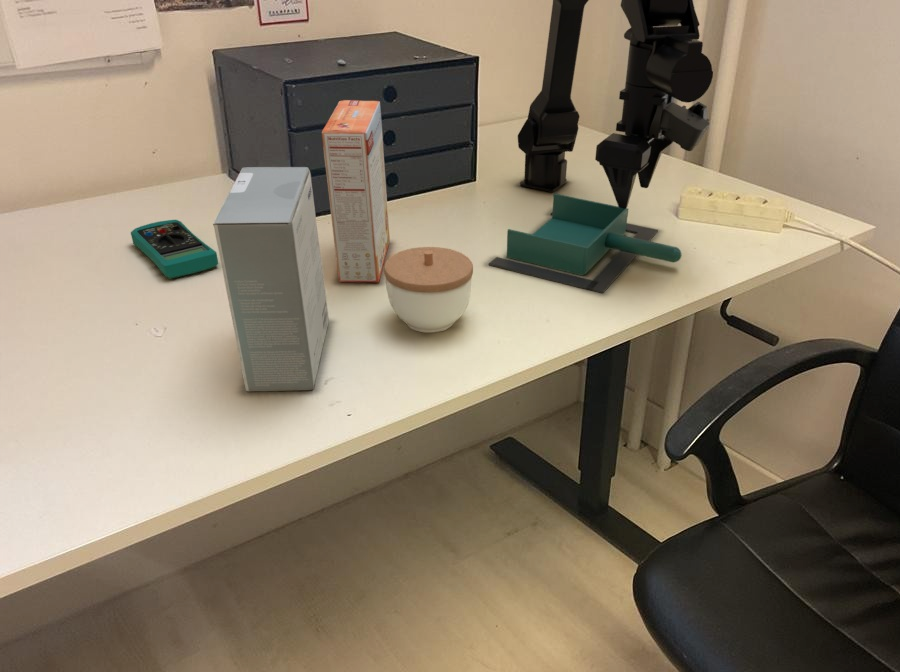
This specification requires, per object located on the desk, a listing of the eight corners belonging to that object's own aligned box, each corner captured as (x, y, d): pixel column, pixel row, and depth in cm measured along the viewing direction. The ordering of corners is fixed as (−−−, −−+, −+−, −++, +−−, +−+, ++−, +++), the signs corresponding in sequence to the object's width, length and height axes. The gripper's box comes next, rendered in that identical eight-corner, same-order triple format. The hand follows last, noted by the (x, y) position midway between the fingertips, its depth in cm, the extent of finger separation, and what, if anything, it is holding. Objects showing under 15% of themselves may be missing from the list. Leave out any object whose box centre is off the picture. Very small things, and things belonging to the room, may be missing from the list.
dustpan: (506, 257, 118) (507, 229, 116) (552, 218, 131) (554, 193, 128) (661, 294, 110) (665, 265, 107) (694, 249, 122) (699, 222, 120)
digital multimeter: (181, 233, 122) (177, 214, 120) (221, 268, 112) (217, 248, 111) (131, 245, 118) (127, 226, 116) (168, 282, 108) (163, 262, 107)
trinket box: (406, 350, 96) (402, 279, 90) (375, 310, 104) (370, 242, 98) (487, 331, 100) (488, 262, 95) (451, 294, 108) (451, 228, 103)
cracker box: (350, 241, 121) (338, 98, 110) (391, 242, 121) (382, 99, 110) (334, 283, 109) (319, 128, 98) (379, 284, 110) (368, 129, 98)
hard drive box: (267, 322, 100) (242, 165, 89) (329, 321, 101) (313, 165, 90) (243, 393, 87) (211, 220, 76) (315, 392, 88) (293, 220, 77)
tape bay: (488, 265, 116) (488, 263, 115) (556, 210, 134) (556, 208, 134) (602, 293, 109) (603, 291, 109) (657, 231, 127) (658, 229, 127)
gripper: (688, 108, 95) (669, 232, 104) (726, 76, 109) (707, 187, 118) (599, 94, 99) (588, 215, 108) (647, 65, 113) (634, 174, 122)
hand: (633, 197), depth 114 cm, fingers open, 9 cm apart
